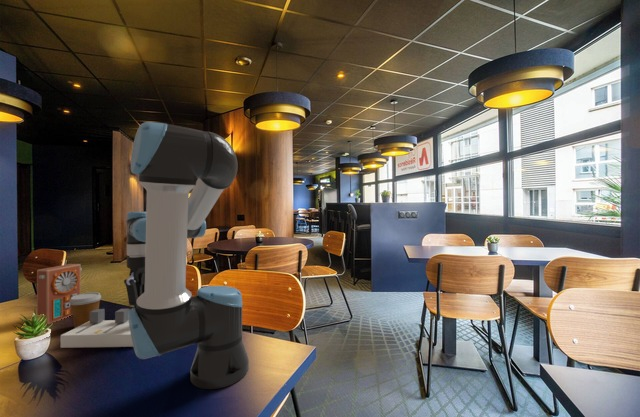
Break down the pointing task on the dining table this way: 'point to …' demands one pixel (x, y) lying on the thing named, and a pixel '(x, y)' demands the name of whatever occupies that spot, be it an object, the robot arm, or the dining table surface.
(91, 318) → the tab
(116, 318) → the tab
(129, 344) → the switch bank
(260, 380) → the dining table surface
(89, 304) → the disposable coffee cup
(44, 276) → the control panel
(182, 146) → the robot arm
